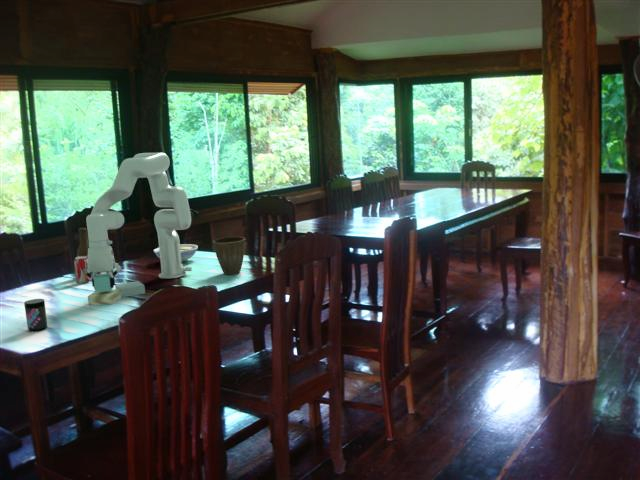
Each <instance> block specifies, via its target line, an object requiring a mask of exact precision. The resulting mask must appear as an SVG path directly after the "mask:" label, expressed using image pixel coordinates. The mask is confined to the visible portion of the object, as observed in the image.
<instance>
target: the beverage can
mask: <svg viewBox="0 0 640 480" xmlns="http://www.w3.org/2000/svg"><path fill="white" fill-rule="evenodd" d="M73 265H74V273H75V281H76V283H78V284H87V283H89V282H91V278H90V277H88V276H87V275H86V274H85V273H83V269H84V268H85V267H86V266H87V265H88V259H87V258H86V256H81V257H77V256H76V257H75V258H74V260H73ZM88 272H89V270H88Z"/></svg>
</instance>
